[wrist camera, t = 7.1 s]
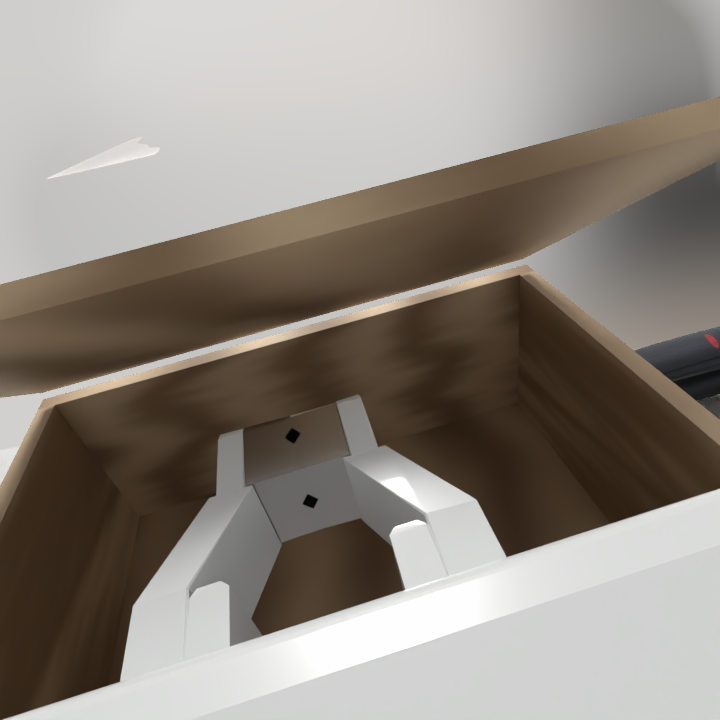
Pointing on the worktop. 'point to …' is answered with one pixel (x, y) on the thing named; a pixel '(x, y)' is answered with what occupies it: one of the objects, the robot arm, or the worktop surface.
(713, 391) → the can opener
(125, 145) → the worktop surface
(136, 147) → the worktop surface
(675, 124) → the lid flap
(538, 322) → the wooden box
